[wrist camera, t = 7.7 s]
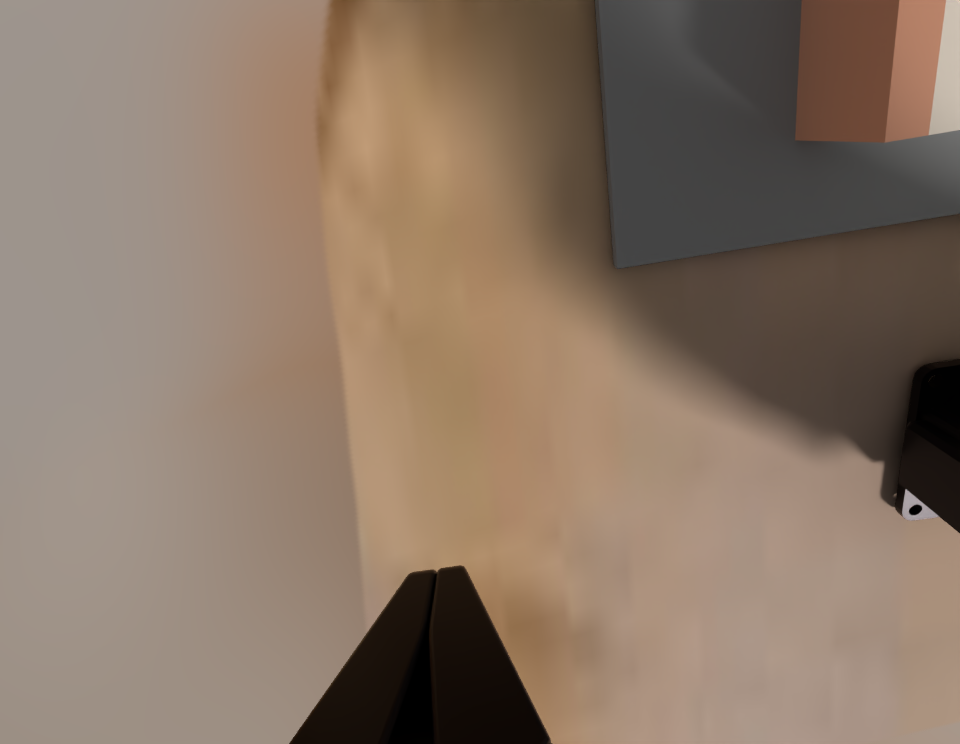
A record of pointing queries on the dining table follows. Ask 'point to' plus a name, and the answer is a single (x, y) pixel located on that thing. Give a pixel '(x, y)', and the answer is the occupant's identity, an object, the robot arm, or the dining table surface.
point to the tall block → (878, 70)
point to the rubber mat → (738, 138)
